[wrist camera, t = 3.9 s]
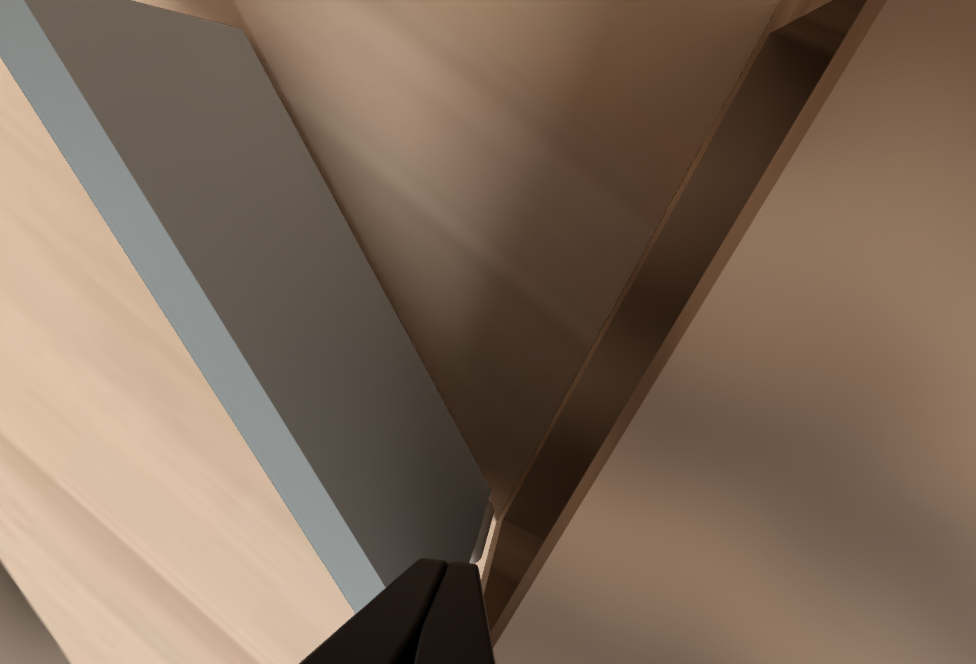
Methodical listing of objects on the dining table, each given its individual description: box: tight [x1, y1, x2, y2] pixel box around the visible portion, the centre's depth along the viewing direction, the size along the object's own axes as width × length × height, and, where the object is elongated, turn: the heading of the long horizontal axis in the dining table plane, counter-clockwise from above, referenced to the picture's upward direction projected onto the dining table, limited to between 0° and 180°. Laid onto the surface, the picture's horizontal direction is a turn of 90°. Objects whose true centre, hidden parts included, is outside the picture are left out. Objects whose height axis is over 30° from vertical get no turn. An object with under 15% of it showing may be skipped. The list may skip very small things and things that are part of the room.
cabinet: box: [481, 0, 976, 664], centre depth 16 cm, size 20×10×9 cm, turn 156°
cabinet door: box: [0, 0, 494, 614], centre depth 18 cm, size 19×2×8 cm, turn 26°
